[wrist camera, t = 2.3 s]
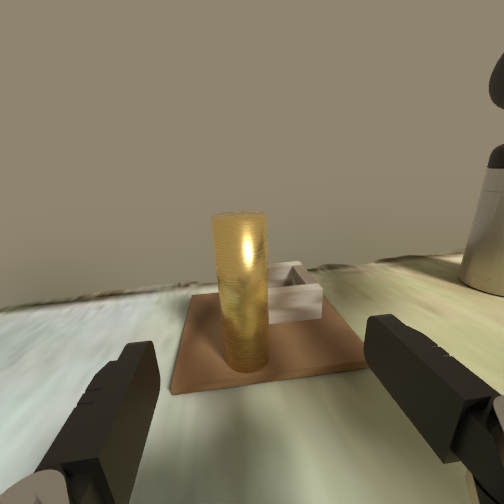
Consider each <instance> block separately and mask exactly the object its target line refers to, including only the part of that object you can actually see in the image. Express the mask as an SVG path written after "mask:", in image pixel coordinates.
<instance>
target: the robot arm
mask: <svg viewBox="0 0 504 504" xmlns="http://www.w3.org/2000/svg"><path fill="white" fill-rule="evenodd" d="M489 94H490V97H491V99H492V101H493V103H494V104H496V105H497V106H498V107H500V108H502V109H504V53H503V55H502V56H501V58H500V59H499V60H498V62H497V64H496V66H495V68H494V70H493V72H492V74H491V77H490V81H489ZM487 167H488V168H487V170H486V174H485V177H484V181H483V185H482V189H481V192H480V196H479V200H478V204H477V207H476V211H475V215H474V218H473V222H472V226H471V230H470V233H469V237H468V241H467V244H466V248H465V252H464V255H463V259H462V263H461V266H460V270H459V274H458V278H459V279H460V280H461V281H462V282H463V283H465V284H467V285H469V286H471V287H473V288H476V289H478V290H481V291H484V292H488V293H492V294H496V295H500V296H504V144H502V145H500V146H498V147H496V148H495V149H494V150H493V151H492V153H491V155H490V158H489V162H488V166H487ZM363 351H364V357H365V360H366V362H367V364H368V366H369V367H370V369H371V370H372V371H373V373H374V374H375V375H376V376H377V378H378V379H379V380H380V382H381V383H382V384H383V386H384V387H385V388H386V389H387V391H388V392H389V393H390V395H391V396H392V397H393V399H394V400H395V401H396V402H397V404H398V405H399V406H400V408H401V409H402V410H403V412H404V413H405V414H406V416H407V417H408V418H409V419H410V421H411V422H412V423H413V425H414V426H415V427H416V429H417V430H418V431H419V432H420V434H421V435H422V436H423V438H424V439H425V440H426V442H427V443H428V444H429V445H430V447H431V448H432V449H433V451H434V452H435V453H436V455H437V456H438V457H439V458H440V460H441V461H442V462H443V464H446V463H452V462H457V461H461V462H462V463H463V464H464V465H465V466H466V468H467V472H466V482H467V486H468V491H469V495H470V500H471V504H504V395H503V396H502V395H501V394H499V393H498V392H497V391H496V390H494V389H493V388H492V387H490V386H489V385H488V384H487V383H485V382H484V381H483V380H482V379H480V378H479V377H478V376H477V375H475V374H474V373H473V372H471V371H470V370H469V369H468V368H466V367H465V366H464V365H463V364H461V363H460V362H459V361H458V360H456V359H455V358H454V357H452V356H451V357H450V355H449V353H447V352H446V351H445V350H444V349H442V348H441V347H438V345H437V344H436V343H435V342H433V341H432V340H431V339H430V338H428V337H427V336H426V335H425V334H423V333H421V332H419V331H417V330H415V329H413V328H411V327H409V326H406V325H405V324H404V323H402V322H401V321H400V320H399V319H397V318H396V317H395V316H394V315H392V314H385V315H376V316H370V317H369V318H368V320H367V326H366V334H365V341H364V349H363ZM159 391H160V373H159V368H158V363H157V359H156V354H155V349H154V345H153V342H152V341H143V342H134V343H128V344H126V346H125V347H124V349H123V351H122V353H121V355H120V356H119V358H118V360H116V361H109V362H108V363H107V364H106V365H105V366H104V367H103V368H102V369H101V370H100V371H99V372H98V373H97V374H95V376H94V377H93V379H92V381H91V382H90V384H89V385H88V387H87V389H86V390H85V393H84V394H83V395H82V397H81V398H80V400H79V401H78V403H77V407H76V408H74V409H73V411H72V413H71V414H70V416H69V417H68V419H67V421H66V422H65V424H64V426H63V427H62V429H61V430H60V432H59V434H58V435H57V437H56V438H55V440H54V442H53V443H52V445H51V446H50V448H49V450H48V451H47V453H46V454H45V456H44V458H43V459H42V461H41V462H40V464H39V466H38V467H37V469H36V470H35V472H34V473H33V474H31V475H29V476H27V477H25V478H23V479H22V480H20V481H18V482H17V483H15V484H14V485H13V486H11V487H10V488H9V489H7V490H6V491H5V492H4V493H3V494H1V495H0V504H129V500H130V497H131V493H132V489H133V486H134V482H135V479H136V475H137V471H138V468H139V464H140V461H141V457H142V453H143V450H144V446H145V443H146V439H147V436H148V432H149V428H150V425H151V421H152V418H153V414H154V410H155V407H156V403H157V400H158V396H159Z"/></svg>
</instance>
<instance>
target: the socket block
mask: <svg viewBox="0 0 504 504" xmlns="http://www.w3.org/2000/svg"><path fill="white" fill-rule="evenodd" d="M268 304H269V344H270V358H269V361H268V363H267V365H266V366H265V367H264V368H262V369H261V370H259V371H257V372H253V373H239V372H236V371H234V370H232V369H231V368H230V367H229V366H228V365H227V363H226V358H225V348H224V338H223V328H222V319H221V309H220V299H219V293H210V294H200V295H192V297H191V302H190V306H189V310H188V314H187V319H186V323H185V327H184V332H183V336H182V340H181V344H180V349H179V353H178V357H177V362H176V366H175V370H174V374H173V379H172V383H171V391H172V395H178V394H185V393H192V392H199V391H206V390H213V389H221V388H228V387H235V386H242V385H249V384H256V383H263V382H271V381H278V380H285V379H292V378H299V377H306V376H313V375H321V374H328V373H335V372H342V371H349V370H356V369H363V368H370V367H369V366H368V364H367V362H366V360H365V357H364V351H363V349H364V343H363V342H362V341H361V340H360V339H359V337H358V336H357V335H356V334H355V332H354V331H353V330H352V329H351V328H350V326H349V325H348V324H347V323H346V322H345V320H344V319H343V318H342V317H341V315H340V314H339V313H338V312H337V311H336V309H335V308H334V307H333V306H332V305H331V303H330V302H329V301H328V300H327V298H326V297H325V296H324V295H323V288H322V287H321V286H320V285H319V284H318V282H317V281H316V280H315V279H314V278H313V277H312V275H311V274H310V273H309V272H308V271H307V270H306V268H305V267H304V266H303V265H302V264H301V263H300V261H296V262H283V263H272V264H268Z"/></svg>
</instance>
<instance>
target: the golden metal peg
mask: <svg viewBox="0 0 504 504" xmlns="http://www.w3.org/2000/svg"><path fill="white" fill-rule="evenodd" d="M211 222H212V231H213V241H214V251H215V260H216V270H217V280H218V290H219V299H220V309H221V319H222V328H223V338H224V348H225V358H226V363H227V365H228V366H229V367H230V368H231V369H232V370H234V371H236V372H239V373H253V372H257V371H259V370H261V369H262V368H264V367H265V366H266V365H267V363H268V361H269V358H270V344H269V304H268V263H267V223H266V214H265V213H262V212H255V211H237V212H227V213H222V214H217V215H215V216H212V217H211Z"/></svg>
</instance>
